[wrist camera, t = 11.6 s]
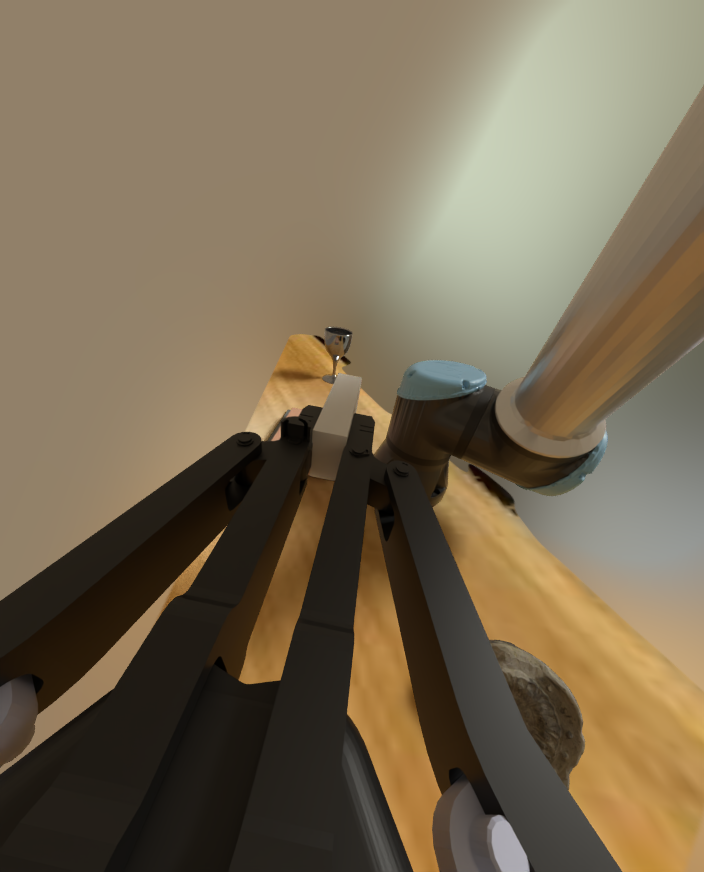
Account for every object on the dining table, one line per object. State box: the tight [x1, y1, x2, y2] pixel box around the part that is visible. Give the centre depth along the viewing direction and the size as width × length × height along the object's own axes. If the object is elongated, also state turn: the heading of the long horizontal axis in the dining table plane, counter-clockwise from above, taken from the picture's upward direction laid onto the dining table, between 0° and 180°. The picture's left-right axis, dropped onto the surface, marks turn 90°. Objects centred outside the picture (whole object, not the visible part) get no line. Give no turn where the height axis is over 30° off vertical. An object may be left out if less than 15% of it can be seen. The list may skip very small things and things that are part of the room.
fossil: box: [489, 640, 585, 790], centre depth 26 cm, size 11×9×10 cm
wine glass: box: [322, 327, 352, 384], centre depth 82 cm, size 8×8×15 cm
